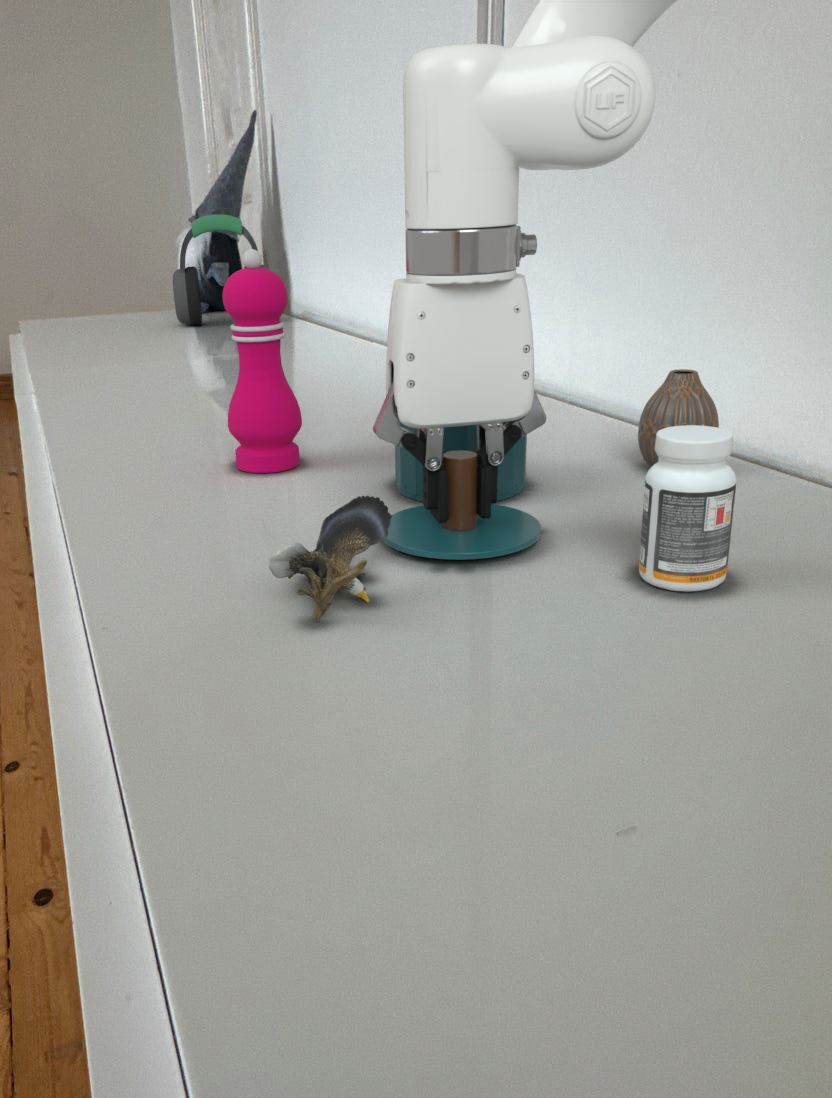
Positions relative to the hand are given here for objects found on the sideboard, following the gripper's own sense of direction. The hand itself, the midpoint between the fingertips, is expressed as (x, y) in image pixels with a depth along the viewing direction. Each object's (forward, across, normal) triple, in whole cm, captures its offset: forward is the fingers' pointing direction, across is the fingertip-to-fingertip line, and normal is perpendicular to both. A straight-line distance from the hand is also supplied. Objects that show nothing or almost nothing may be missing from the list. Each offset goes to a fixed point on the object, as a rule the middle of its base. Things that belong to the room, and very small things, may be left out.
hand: (459, 513), depth 76 cm
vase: (+2, -24, -13) cm, 27 cm away
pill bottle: (+2, -12, +12) cm, 17 cm away
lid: (+1, 0, 0) cm, 1 cm away
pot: (+2, -4, -14) cm, 15 cm away
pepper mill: (+2, +12, -27) cm, 30 cm away
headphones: (+2, +9, -139) cm, 139 cm away
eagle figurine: (+2, +11, +9) cm, 14 cm away
